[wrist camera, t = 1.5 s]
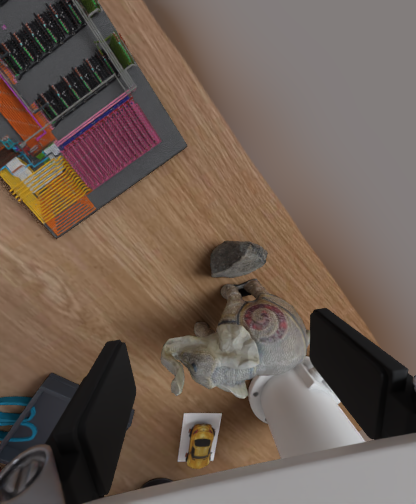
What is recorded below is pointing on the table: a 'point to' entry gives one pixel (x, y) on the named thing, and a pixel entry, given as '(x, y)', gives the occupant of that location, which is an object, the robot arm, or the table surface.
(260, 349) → the figurine
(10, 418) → the scissors
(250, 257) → the rock
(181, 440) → the toy car
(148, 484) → the camera lens
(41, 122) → the circuit board
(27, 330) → the table surface
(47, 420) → the tray
